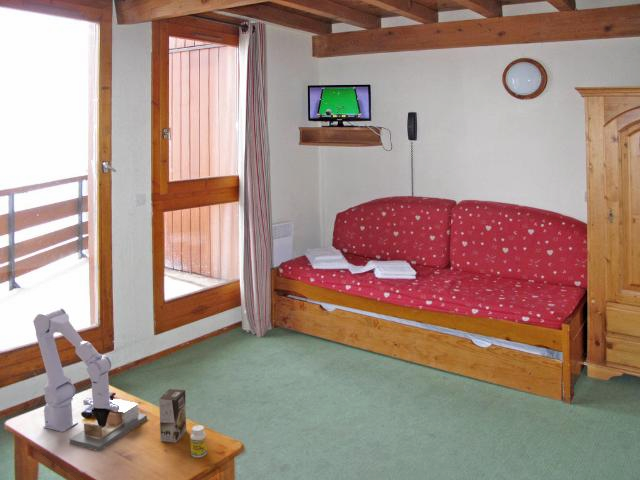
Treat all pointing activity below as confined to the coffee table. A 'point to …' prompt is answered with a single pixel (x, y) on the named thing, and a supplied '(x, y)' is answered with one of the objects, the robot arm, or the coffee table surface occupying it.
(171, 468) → the coffee table surface
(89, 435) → the sled
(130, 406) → the tunnel
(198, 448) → the supplement bottle
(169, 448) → the coffee table surface
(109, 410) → the robot arm
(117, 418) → the block
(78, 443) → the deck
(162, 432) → the coffee box
